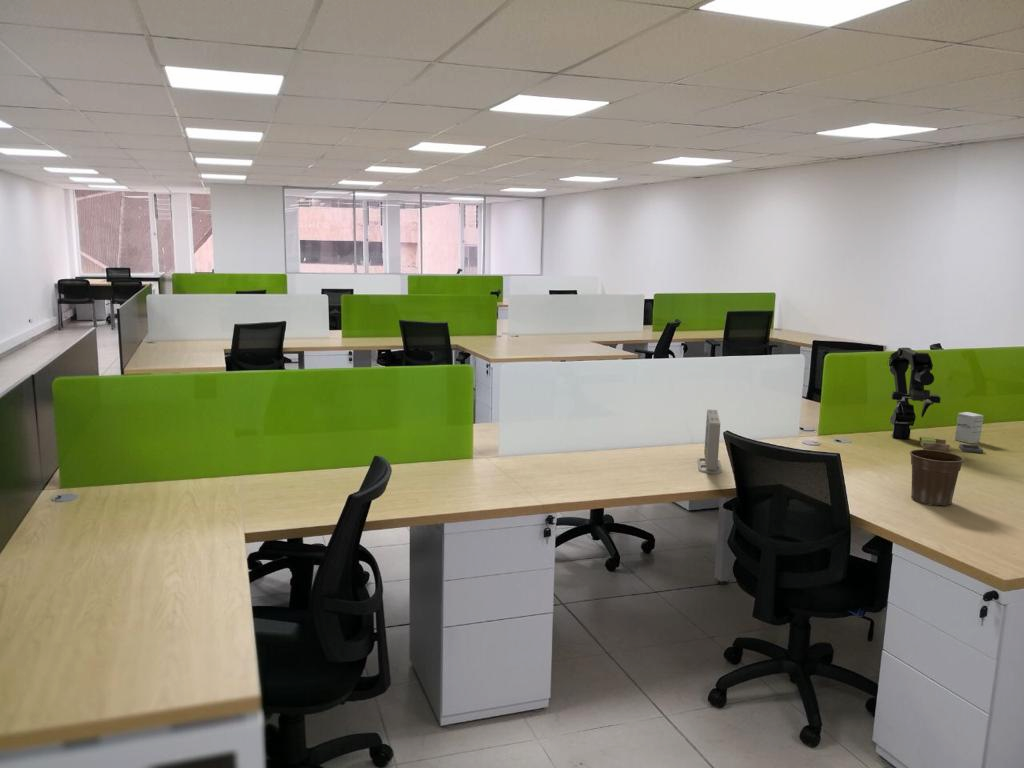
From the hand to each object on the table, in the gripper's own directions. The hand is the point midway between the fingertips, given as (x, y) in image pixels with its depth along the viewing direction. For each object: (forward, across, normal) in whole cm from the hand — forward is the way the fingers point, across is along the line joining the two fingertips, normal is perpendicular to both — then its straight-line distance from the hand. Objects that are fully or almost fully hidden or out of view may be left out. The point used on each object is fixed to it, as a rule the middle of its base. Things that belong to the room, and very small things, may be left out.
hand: (913, 416), depth 340 cm
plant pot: (+13, -4, -84) cm, 85 cm away
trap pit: (+12, +24, 0) cm, 27 cm away
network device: (+13, -79, -72) cm, 107 cm away
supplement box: (+13, +26, +18) cm, 34 cm away
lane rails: (+12, +9, 0) cm, 16 cm away
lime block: (+13, +7, 0) cm, 15 cm away
